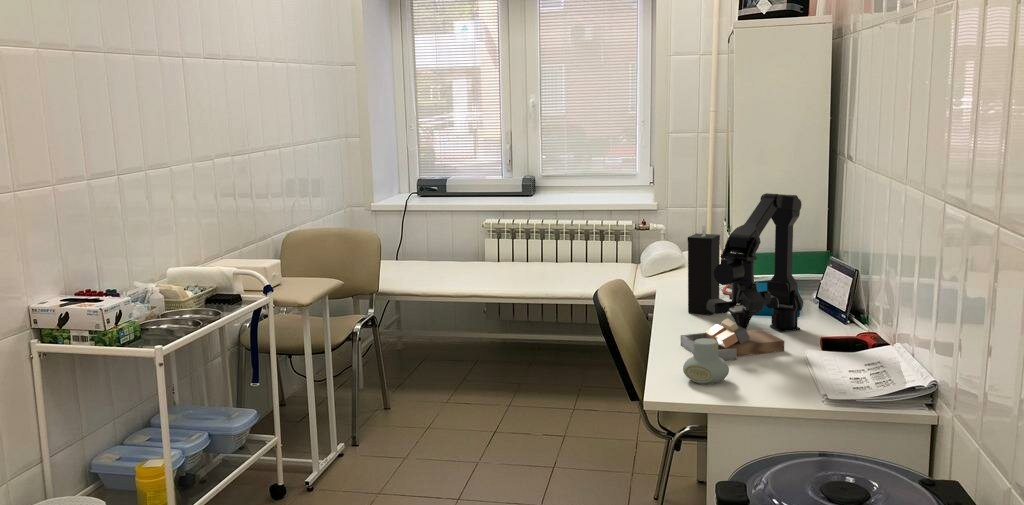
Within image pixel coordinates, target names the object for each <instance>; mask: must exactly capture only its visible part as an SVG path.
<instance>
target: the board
mask: <svg viewBox="0 0 1024 505" xmlns="http://www.w3.org/2000/svg"><path fill="white" fill-rule="evenodd" d="M746 331H747V333H748V335H749V337H750V339H748V340H747V341H745V342H743V343H742V344H740V343H738V342H736V343H734V344H732V345H731V346H729V347H727V348H724V347H723V346H721V345H719V344H718V347H719V348H721V349H731V348H736V349H737V357H744V356H754V355H763V354H772V352H773V353H782V352H785V339H782V338H780V337H779V336H777V335H774V334H772V333H770V332H768V331H766V330H764V329H761V328H760V329H753V330H746Z"/></svg>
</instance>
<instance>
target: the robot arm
mask: <svg viewBox="0 0 1024 505" xmlns="http://www.w3.org/2000/svg"><path fill="white" fill-rule="evenodd" d="M801 209H802V200H801V199H800V198H799V196H798V195H796V194H782V193H781V194H779V193H770V192H769V193H768V192H767V193H764V194H762V195H761V196H760V201H759V202H758V204H757V205H756V206H755V208H754V209H753V211H752V212H751V214H750V215H749V217H748V219H747V220H746V221H745V222H744V224H741V225H739V226H737V227H735V229H734V230H733V231H732V232H731V233H730V234H729V235H728V237H727V240H726V243H725V245H724V248H723V251H722V253H721V259H720V263H719V265H717V266H716V268H715V270H714V277H715V279H716V281H717V282H718V283H719V285H721V286H726V285H728V284H730V285H732V290H731V292H732V295H728V296H729V297H728V298H729V300H730V301H729V300H728V301H727V300H725V299H722V298H719V299H711V300H709V301H708V302H707V310H709V311H711V312H713V313H714V314H715V315H720V314H721V315H722V314H727V313H730V315H731V317H732V318H733V321H734V322H735V323H736V324H737V325H739V326H741V327H743V328H745V329H746V330H747V328H748V326H749V323H750V321H751V320H752V317H753V316H754V315H755V314H757V313H759V312H760V311H764V308H765V307H766V308H767V309H772V313H771V324H769V327H770V328H772V329H775V330H776V331H779V332H780V333H781V332H790V331H800V330H801V327H800V326H798V319H799V318H798V312H799V311H802V309H803V307H804V300H803V298H802V296H801V294H800V293H799V291H798V290H799V289H798V283H797V281H796V279H795V278H794V276H793V250H794V249H793V246H794V245H793V244H794V224H795V223H796V222H797V220H798V219H799V217H800V214H801V212H800V211H801ZM770 220H772V222H773V224H774V225H775V230H774V233H775V234H774V237H775V238H774V266H773V267H774V268H773V269H774V271H773V272H774V273H773V275H772V278H770V280H768V281H767V283H766V289H767V290H762V291H761V290H760V292H758V291H757V286H756V283H757V282H756V283H754V278H755V276H754V275H755V272H754V270H755V263H754V262H755V261H756V260H757V259H758V257H757V255H756V253H757V251H758V249H759V247H760V245H761V237H760V236H761V234H762V232H763V231H764V229H765V228H766V226H767V225H768V223H769V222H770Z"/></svg>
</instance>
